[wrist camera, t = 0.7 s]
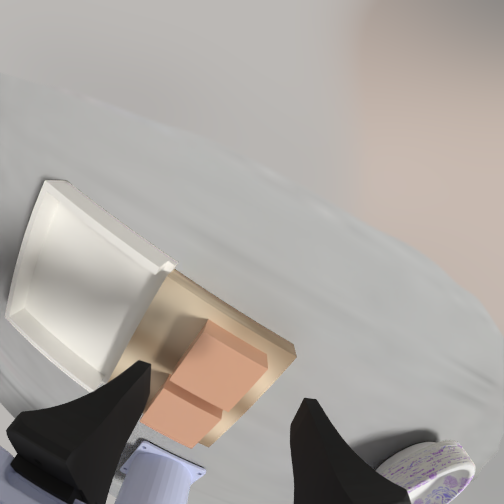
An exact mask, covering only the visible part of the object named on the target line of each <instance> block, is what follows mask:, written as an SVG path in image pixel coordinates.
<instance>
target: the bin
mask: <svg viewBox="0 0 504 504" xmlns="http://www.w3.org/2000/svg"><path fill="white" fill-rule="evenodd" d="M177 264H178V262H177V261H176V260H174V259H173V258H171V257H170V256H168V255H167V254H166V253H164V252H163V251H161V250H160V249H158V248H157V247H155V246H154V245H153V244H151V243H150V242H148V241H147V240H146V239H144V238H143V237H141V236H140V235H139V234H137V233H136V232H134V231H133V230H132V229H130V228H129V227H127V226H126V225H125V224H123V223H122V222H121V221H119V220H118V219H116V218H115V217H114V216H112V215H111V214H110V213H108V212H107V211H106V210H104V209H103V208H102V207H100V206H99V205H98V204H96V203H95V202H94V201H92V200H91V199H90V198H88V197H87V196H86V195H84V194H83V193H82V192H81V191H79V190H78V189H77V188H75V187H74V186H73V185H72V184H70V183H69V182H68V181H64V180H45V181H44V184H43V186H42V189H41V191H40V193H39V196H38V198H37V201H36V203H35V206H34V209H33V211H32V214H31V217H30V220H29V223H28V226H27V229H26V232H25V235H24V238H23V241H22V244H21V248H20V251H19V255H18V258H17V262H16V266H15V270H14V274H13V278H12V282H11V287H10V292H9V297H8V302H7V307H6V313H5V318H6V319H7V320H8V321H9V322H10V323H11V324H12V325H13V326H14V327H15V328H16V329H17V330H18V331H19V332H20V333H21V334H22V335H23V336H24V337H25V338H26V339H27V340H28V341H29V342H30V343H31V344H32V345H33V346H34V347H35V348H36V349H37V350H38V351H40V352H41V353H42V354H43V355H44V356H45V357H46V358H47V359H49V360H50V361H51V362H52V363H53V364H54V365H56V366H57V367H58V368H59V369H60V370H62V371H63V372H64V373H65V374H67V375H68V376H69V377H70V378H72V379H73V380H74V381H75V382H77V383H78V384H79V385H81V386H82V387H83V388H85V389H86V390H87V391H89V392H90V393H91V392H93V391H95V390H96V389H97V388H98V387H99V385H100V384H101V383H103V384H104V385H105V384H107V383H108V381H109V379H110V377H111V375H112V373H113V371H114V369H115V367H116V365H117V363H118V362H119V360H120V358H121V356H122V354H123V352H124V350H125V349H126V347H127V345H128V343H129V341H130V339H131V338H132V336H133V334H134V332H135V330H136V328H137V327H138V325H139V323H140V321H141V320H142V318H143V316H144V314H145V313H146V311H147V309H148V307H149V306H150V304H151V302H152V300H153V299H154V297H155V295H156V294H157V292H158V290H159V289H160V287H161V285H162V283H163V282H164V280H165V278H166V277H167V275H169V274H170V273H171V272H172V271H173V270H174V269H175V267H176V265H177Z"/></svg>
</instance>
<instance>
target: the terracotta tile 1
mask: <svg viewBox="0 0 504 504" xmlns="http://www.w3.org/2000/svg"><path fill="white" fill-rule="evenodd" d="M170 377H171V374H169V376H168V377H167V378H166V380H165V381H164V383H163V384H162V385H161V387H160V388H159V390H158V391H157V393H156V394H155V395H154V397H153V398H152V400H151V401H150V402H149V404H148V405H147V407H146V409H145V411H144V413H143V415H142V417H141V419H140V422H141V423H143V424H145V425H147V426H148V427H150V428H152V429H154V430H156V431H157V432H159V433H161V434H163V435H165V436H167V437H169V438H171V439H173V440H174V441H176V442H178V443H181V444H183V445H185V446H187V447H189V448H191V449H192V448H193V447H194V446H195V445H196V444H197V443H198V442H199V441H200V440H201V439H202V438H203V437H204V436H205V435H206V434H207V433H208V432H209V431H210V430H211V429H212V428H213V427H214V426H215V425H216V424H217V423H218V422H219V421H220V420H221V419H222V411H223V409H221V408H219V407H217V406H215V405H213V404H211V403H209V402H207V401H205V400H203V399H202V398H200V397H198V396H196V395H194V394H192V393H191V392H189V391H187V390H185V389H184V388H182V387H180V386H178V385H177V384H175V383H173V382H172V381H170V380H169V379H170Z"/></svg>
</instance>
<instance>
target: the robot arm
mask: <svg viewBox="0 0 504 504" xmlns="http://www.w3.org/2000/svg"><path fill="white" fill-rule="evenodd" d="M150 381H151V364H150V363H147V362H144V361H141V360H138V361H136V362H135V363H134V364H133V365H131V366H130V367H129V368H128V369H126V370H125V371H124V372H122V373H121V374H120V375H118V376H117V377H115V378H114V379H112V380H111V381H110V382H108V383H107V384H105V385H103V386H102V387H100V388H98V389H96V390H95V391H93V392H91V393H89V394H87V395H85V396H83V397H81V398H78V399H76V400H73V401H71V402H68V403H65V404H62V405H59V406H55V407H51V408H46V409H41V410H34V411H25V412H21V413H20V414H19V415H18V416H17V417H16V418H15V420H14V421H13V422H12V424H11V425H10V426H9V427H8V428H7V430H6V432H7V436H8V438H9V440H10V442H11V443H12V445H13V447H14V449H15V450H16V452H17V455H16V457H15V458H14V457H13V456H12V455H11V454H10V453H9V452H8V451H6V450H5V449H4V448H2V447H1V446H0V504H105V503H106V500H107V495H108V492H109V489H110V486H111V483H112V479H113V476H114V473H115V470H116V468H117V465H118V462H119V459H120V457H121V454H122V451H123V449H124V447H125V445H126V443H127V441H128V439H129V437H130V435H131V433H132V431H133V430H134V428H135V426H136V424H137V422H138V420H139V418H140V416H141V415H142V413H143V411H144V408H145V406H146V403H147V400H148V398H149V395H150ZM290 448H291V457H292V466H293V475H294V504H411V501H410V498H409V495H408V492H407V490H406V489H405V488H403V487H401V486H399V485H397V484H395V483H393V482H391V481H390V480H388V479H387V478H385V477H383V476H382V475H380V474H379V473H378V472H376V471H375V470H374V469H372V468H371V467H370V466H369V465H368V464H366V463H365V462H364V461H363V460H362V459H361V458H360V457H359V456H358V455H357V454H356V453H355V452H354V451H353V450H352V449H351V448H350V447H349V446H348V444H347V443H346V442H345V441H344V439H343V438H342V437H341V436H340V434H339V433H338V432H337V430H336V429H335V427H334V426H333V425H332V423H331V422H330V420H329V418H328V417H327V415H326V414H325V412H324V411H323V409H322V407H321V406H320V404H319V403H318V401H317V400H316V399H309V398H304V399H303V401H302V403H301V405H300V407H299V409H298V411H297V413H296V415H295V417H294V419H293V421H292V423H291V427H290ZM120 471H121V472H122V473H124V474H126V476H125V479H124V481H123V484H122V486H121V488H120V491H119V493H118V496H117V498H116V501H115V504H187V500H188V495H189V490H190V485H191V484H192V483H194V482H195V481H196V480H198V479H199V478H200V477H202V476H203V475H204V474H206V469H204V468H202V467H199V466H197V465H195V464H192V463H190V462H188V461H186V460H183V459H181V458H179V457H177V456H175V455H173V454H171V453H169V452H167V451H165V450H163V449H161V448H159V447H157V446H155V445H153V444H151V443H149V442H147V441H142V442H141V444H140V445H139V446H138V447H137V448H136V450H135V451H134V452H133V453H132V455H131V456H130V457H129V458H128V459H127V461H126V462H125V463H124V464H123V465H122V467H121V468H120Z"/></svg>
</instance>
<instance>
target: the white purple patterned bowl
mask: <svg viewBox="0 0 504 504" xmlns="http://www.w3.org/2000/svg"><path fill="white" fill-rule="evenodd" d="M376 472H378V473H379V474H380V475H382V476H383V477H385V478H387V479H388V480H390V481H391V482H393V483H395V484H397V485H399V486H401V487H403V488H405V489H406V490H407V492H408V495H409V498H410V501H411V504H448V503H449V502H451V501H452V500H453V499H454V498H455V497H456V496H458V495H459V494H460V493H461V492H462V491H463V489H465V487H466V486H467V485H468V484H469V483H470V481H471V480H472V478H473V476H474V474H475V464H474V463H473V461H472V460H471V458H470V457H469V456H468V454H467V452H465V450H464V449H463V447H462V446H461V445H460V444H459V443H458V442H456V441H453V440H445V441H440V442H437V443H435V442H423V443H419V444H415V445H412V446H410V447H408V448H405V449H403V450H402V451H400V452H398V453H396V454H395V455H393V456H392V457H390V458H389V459H387V460H386V461H385V462H384V463H382V464H381V465H380V466H379V467H378V468H377V469H376Z"/></svg>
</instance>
